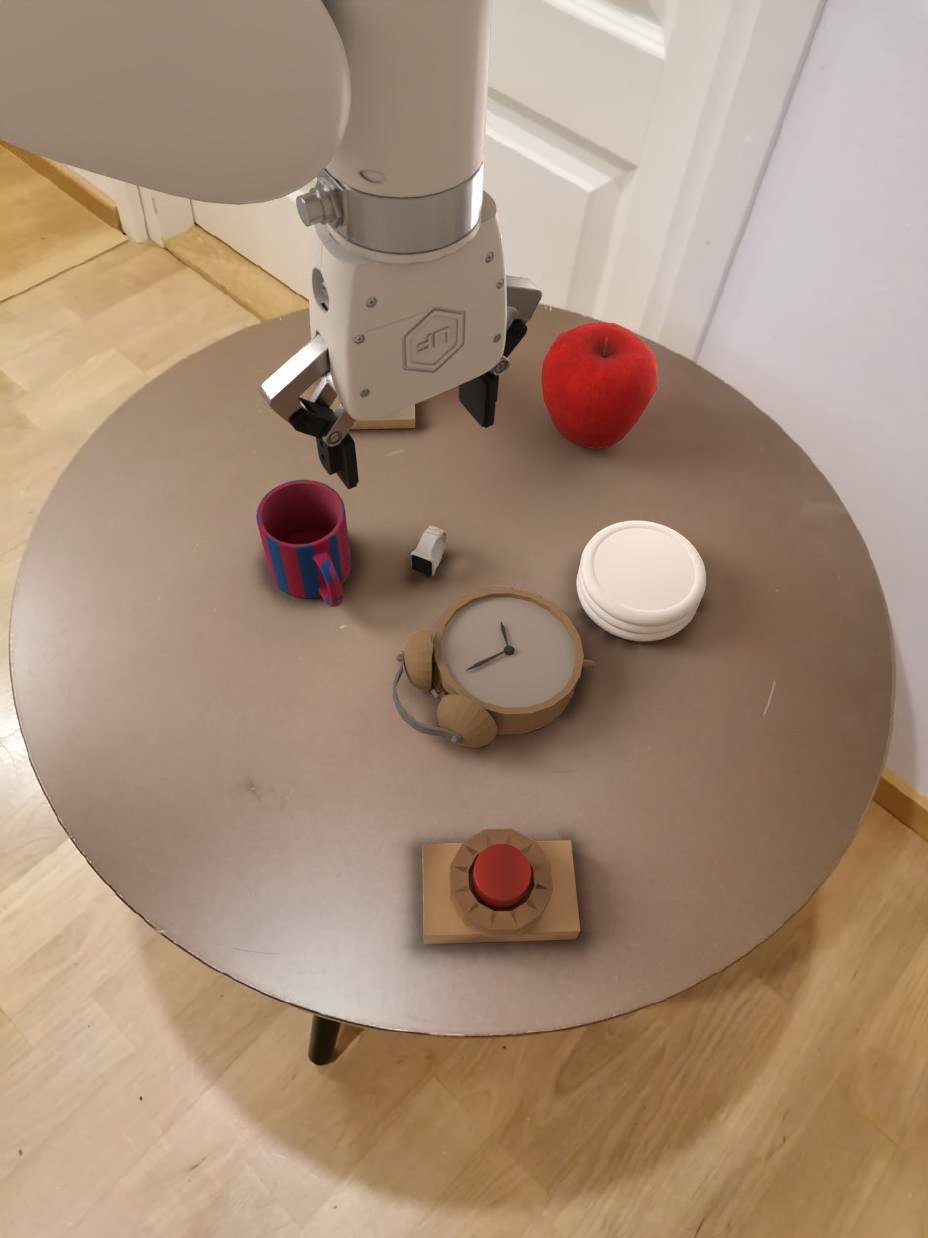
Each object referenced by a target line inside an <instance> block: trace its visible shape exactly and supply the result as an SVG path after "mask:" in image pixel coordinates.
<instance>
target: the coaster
mask: <svg viewBox="0 0 928 1238" xmlns="http://www.w3.org/2000/svg"><path fill="white" fill-rule="evenodd" d="M579 562H580V563H579V566H578V571H577V574H576V582H575V584H576V592H577V597H578V600H579V602H580V604H581V607H582V608H583V610H584V612H585V613H586V615H587V616H588V617H589V618H590V620H592V621H593V623H595V625H597V626H598V627H599V628H601V629H602V630H603V631H605V632H607V633H608V634H611V635H613V636H615V637H617V638H621V639H623V640H628V641H633V642H655V641H656V642H657V641H659V640H664V639H667V638H669V637H670V638H671V636H674V635H676V634H678V633H679V632H680V631H682V630H684V628H686V627H687V626H688V625H689V624H690V622H691V621H692V620H693V619H694V617H695V615H696V613H697V611H698V608H699V606H700V604H701V601H702V599H703V597H704V594H705V592H706V588H707V587H706V586H707V572H706V567H705V563H704V561H703V559H702V557H701V555H700V553H699V551H698V550H697V548H696V547H695V546H694V545H693V544H692V542H691V541H689V540H688V538H687V537H685V536H684V535H682V534H681V533H680V532H678V531H676V530H674V529H672V528H671V527H669V526H667V525H664V524H660V523H658V522H654V521H648V520H625V521H619V522H616V523H612V524H610V525H608V526H606V527H604V528H603V529H600V530H599V531H598V532H596V533H595V534H593V536H592V538H590V540H589V541H588V542H587V544H586V545H585V546H584V549H583V551H582V553H581V557H580V561H579Z"/></svg>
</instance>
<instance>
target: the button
mask: <svg viewBox="0 0 928 1238" xmlns="http://www.w3.org/2000/svg"><path fill="white" fill-rule="evenodd" d="M530 880H531V866H530V863H529V861H528V859H527V857H526V856H525V854H524V853H523V852H522V851H521V850H519V849H518V848H516V847H514V846H512V845H509V844H495V845H492V846H489V847H487V848H486V849H484V850H483V851H482V852H481V853H480V854H479V856H478V857H477V859H476V862H475V865H474V872H473V885H474V889H475V891H476V893H477V895H478V896H479V897H480V898H481V899H482V900H483V901H484V902H485V903H487V904H488V905H491V906H493V907H498V908H506V907H510V906H513V905H515V904H517V903H518V902H520V901H521V900H522V899H523V897H524V896H525V894H526V892H527V890H528V887H529V883H530Z"/></svg>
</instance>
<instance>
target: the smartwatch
mask: <svg viewBox="0 0 928 1238" xmlns="http://www.w3.org/2000/svg"><path fill="white" fill-rule="evenodd" d="M448 540H449V538H448V533H447V531H446V530H444V529H441V528H439V527H437V526H434V525H427V528H426V529H425V530H424V532H423V533H422V536H421V537H420V540H419V542H418V544H417V546H416V548H415V549H414V550H412V551H411V553H410V568H411V570H412V571H414V572H417V573H419V574H422V575H424V576H427V577H431V578H432V577H434V576H435V573H436V569H437V568H438V566H439V565H440V563H441V561H442V558H443V554H444V552H445V549H446V548H447V547H448V543H449V542H448Z"/></svg>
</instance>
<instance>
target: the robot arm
mask: <svg viewBox="0 0 928 1238" xmlns="http://www.w3.org/2000/svg"><path fill="white" fill-rule="evenodd" d="M492 9H493V0H0V141H3V142H5V143H8V144H9V145H12V146H13V147H17V148H20V149H21V150H23V151H24V150H25V151H27V152H29V153H31V154H34V155H37V156H40V157H43V158H46V159H48V160H52V161H53V162H57V163H60V164H63V165H67V166H70V167H73V168H77V169H80V170H83V171H87V172H88V173H93V174H95V175H100V176H103V177H106V178H109V179H113V180H117V181H120V182H123V183H127V184H130V185H132V186H136V187H141V188H143V189H148V190H152V191H155V192H158V193H162V194H165V195H169V196H172V197H173V196H174V197H179V198H183V199H188V200H192V201H197V202H201V203H210V204H220V205H221V204H223V205H234V206H235V205H236V206H241V205H251V204H252V205H253V204H264V203H267V202H271V201H274V200H278V199H282V198H284V197H287V196H289V195H290V194H293V193H295V192H297V191H299V190H301V189H303V188H304V187H305V186H307V185H308V184H310V183H311V182H312V181H314V180H315V179H316V183H315V186H313V187H311V188H310V189H309V192H306V193H303V194H299V195H297V196H296V198H295V206H296V209H297V213H298V216H299V219H300V220H301V223H303V225H304V226H305V227H307V228H309V227H311V226H313V230H312V237H311V244H310V245H311V246H310V255H309V256H310V257H309V270H308V271H309V273H308V308H309V326H310V340H309V341H308V342H307V343H306V344H305V345H304V346H303V347H301V348H300V349H299V350H298V351H297V352H296V353H295V354H294V355H293V356H291V357H290V358H289V359H288V360H287V361H286V362H285V363H284V364H283V365H281V367H279V368H278V369H277V370H276V371H275V372H274V373H273V374H272V375H270V376H269V377H268V378H267V379H266V380H265V381H263V382H262V384H261V385H260V386H259V393H260V396H262V398H263V399H264V400H265V402H266V403H267V404H268V406H269V408H270V409H271V410H273V411H274V412H275V413H276V414H277V415H278V416H279V417H280V418H282V419H283V420H284V421H285V422H287V423H288V424H289V425H290V426H292V428H293V429H294V430H295V431H296V432H298V433H301V434H305V435H307V436H311V437H312V438H313V437H314V438H315V442H316V448H317V454H318V459H319V461H320V464H321V466H322V467H323V468H324V470H325V471H326V473H327V474H328V475H329V476H333V475H334V474H336V475H337V476H338V478H339V480H340V481H341V482H342V483H343V485H344V487H345V488H346V489H347V490H352V489H354V488H356V487H358V484H359V483H360V480H359V479H360V477H359V469H358V461H357V451H356V449H357V448H356V443H355V440H354V438H353V437H352V436H351V434H350V433H349V432H350V431H351V430H352V429H351V427H352V426H353V424H354V423H355V421H356V420H358V421H369V420H374V419H378V418H382V417H384V416H387V415H390V414H392V413H395V412H397V411H400V410H402V409H405V408H407V407H409V406H412V405H414V404H415V405H417V404H419V403H422V402H424V401H427V400H428V399H431V398H433V397H435V396H438V395H440V394H443V393H445V392H447V391H449V390H451V389H454V388H456V387H458V400H459V402H460V404H461V405H462V406H463V408H464V409H465V410H466V411H467V412H468V413H469V414H470V415H471V416H472V418H473V419H474V420H475V421H476V422H477V423H478V425H479V426H480V427H481V428H484V429H487V428H490V427H492V426H494V425H495V418H496V406H497V405H496V404H497V402H498V394H499V384H500V383H499V382H500V376H502V375H503V374H504V373H506V372H507V370H508V369H509V367H510V360H509V358H508V357H509V356H510V355H511V354H512V352H513V351H514V350H515V349H516V347H517V346H518V345H519V344H520V342H521V341H522V340H523V339H524V337H525V336H526V335H527V332H528V325H527V323H528V321H531V319H532V318H533V316H534V313H535V311H536V310H537V308H538V305H539V304H540V302H541V300H542V298H543V291H542V289H541V288H539V287H538V286H537V285H536V284H535V283H534V282H533V281H532V280H531V279H530V278H527V277H521V276H515V275H508V274H507V269H506V268H507V267H506V257H505V250H504V243H503V236H502V230H501V224H500V219H499V212H498V208H497V204H496V202H495V199H494V198H493V197H492V196H491V195H490V194H489V193H488V192H486V191H485V190H484V181H485V160H486V159H485V158H486V153H485V150H486V149H485V148H486V131H487V129H486V128H487V110H488V109H487V108H488V90H489V71H490V69H489V68H490V50H491V49H490V47H491V31H492V30H491V27H492ZM320 378H321V379H320ZM319 379H320V381H319V382H318V384H317V386H316V387H315V389H314V390H313V392H312V394H311V395H310V397H309V399H306V398H303V397H301V395H303V393H304V392H305V391H307V390H308V389H309V388H310V387H311V386H312V385H313V384H315V383H316V382H317V381H318V380H319ZM337 396H338V399H339V401H340V405H339V406H338V408H337V410H336V411H335V413H334V411H333V410H332V409H331V408H330V406H331V405H332V403H333V402H334V400H335V398H336V397H337Z"/></svg>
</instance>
